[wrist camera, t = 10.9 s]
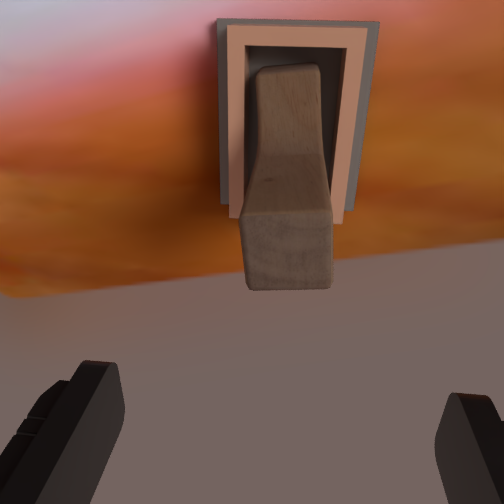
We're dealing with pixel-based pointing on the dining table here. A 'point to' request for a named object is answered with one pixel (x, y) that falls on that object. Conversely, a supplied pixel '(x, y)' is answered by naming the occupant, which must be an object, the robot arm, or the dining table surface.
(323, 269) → the wooden block
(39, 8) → the dining table surface
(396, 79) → the dining table surface
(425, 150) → the dining table surface
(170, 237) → the dining table surface
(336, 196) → the block holder
